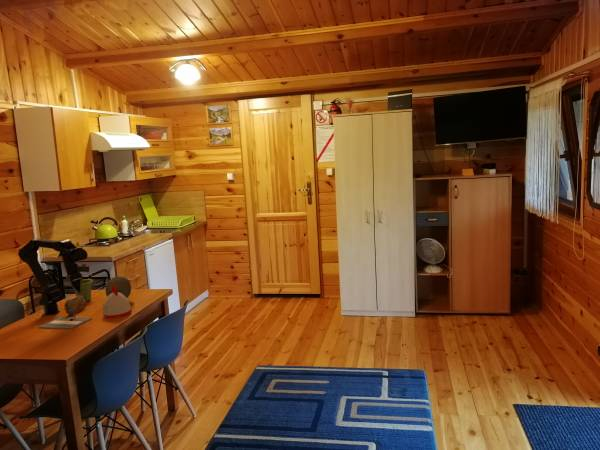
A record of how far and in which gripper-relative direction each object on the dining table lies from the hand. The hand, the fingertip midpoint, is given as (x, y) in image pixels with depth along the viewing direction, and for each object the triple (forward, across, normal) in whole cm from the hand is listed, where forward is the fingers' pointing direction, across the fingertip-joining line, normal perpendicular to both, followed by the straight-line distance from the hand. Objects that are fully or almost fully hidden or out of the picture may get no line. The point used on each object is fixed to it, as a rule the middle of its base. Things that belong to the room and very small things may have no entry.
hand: (78, 291), depth 247 cm
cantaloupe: (+14, +9, -19) cm, 25 cm away
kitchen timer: (+17, -11, -14) cm, 24 cm away
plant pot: (+9, +30, -4) cm, 32 cm away
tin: (+11, +10, +3) cm, 15 cm away
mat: (+13, -8, +11) cm, 18 cm away
